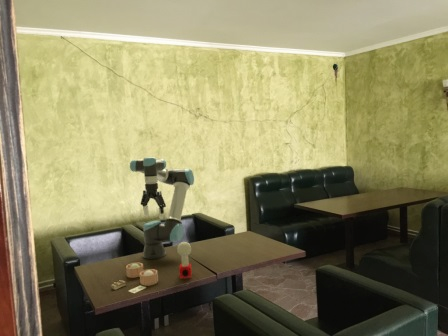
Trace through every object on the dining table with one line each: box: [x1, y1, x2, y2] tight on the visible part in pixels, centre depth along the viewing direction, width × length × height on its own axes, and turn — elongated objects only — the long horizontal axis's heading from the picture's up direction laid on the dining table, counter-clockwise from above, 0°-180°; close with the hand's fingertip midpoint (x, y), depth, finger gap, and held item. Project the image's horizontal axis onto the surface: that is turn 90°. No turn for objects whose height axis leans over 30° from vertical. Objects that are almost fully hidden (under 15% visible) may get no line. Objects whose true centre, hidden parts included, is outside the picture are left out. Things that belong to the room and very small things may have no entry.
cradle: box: [111, 279, 127, 290], centre depth 202 cm, size 3×7×3 cm, turn 142°
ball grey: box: [144, 269, 154, 276], centre depth 205 cm, size 6×6×6 cm
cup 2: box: [139, 268, 159, 287], centre depth 205 cm, size 9×9×6 cm
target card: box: [128, 284, 147, 294], centre depth 197 cm, size 5×8×1 cm, turn 142°
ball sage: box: [130, 264, 140, 268], centre depth 218 cm, size 6×6×6 cm
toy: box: [176, 241, 193, 279], centre depth 211 cm, size 8×8×20 cm
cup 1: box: [125, 262, 145, 279], centre depth 218 cm, size 9×9×6 cm
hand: (153, 217), depth 223 cm, fingers open, 13 cm apart
